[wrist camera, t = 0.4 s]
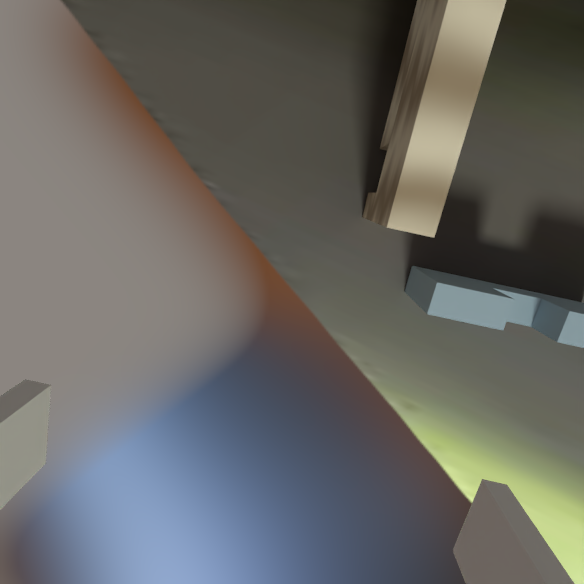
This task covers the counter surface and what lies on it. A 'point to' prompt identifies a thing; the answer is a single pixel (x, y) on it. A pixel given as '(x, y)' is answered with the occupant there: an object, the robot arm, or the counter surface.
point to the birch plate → (432, 110)
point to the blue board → (496, 305)
